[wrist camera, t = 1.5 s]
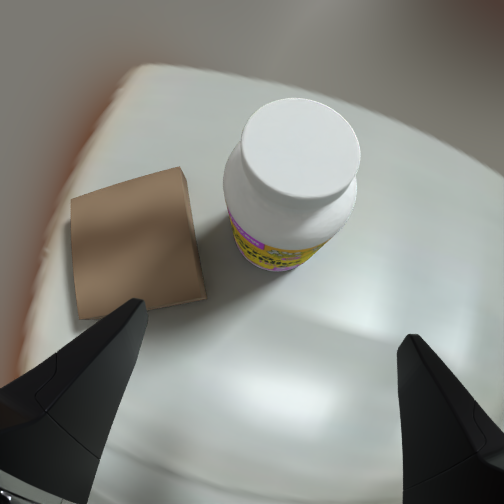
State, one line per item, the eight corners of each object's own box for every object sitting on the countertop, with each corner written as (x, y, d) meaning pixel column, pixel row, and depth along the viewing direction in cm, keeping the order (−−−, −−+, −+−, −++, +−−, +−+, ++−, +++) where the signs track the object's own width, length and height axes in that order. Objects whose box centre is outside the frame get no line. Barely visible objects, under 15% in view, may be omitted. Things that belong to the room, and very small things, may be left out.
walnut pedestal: (207, 299, 22) (201, 297, 19) (94, 319, 22) (79, 319, 19) (186, 179, 24) (179, 166, 21) (84, 208, 24) (70, 199, 21)
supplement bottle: (218, 248, 23) (177, 173, 10) (258, 178, 24) (261, 62, 11) (295, 288, 22) (349, 259, 9) (331, 215, 23) (399, 124, 11)
